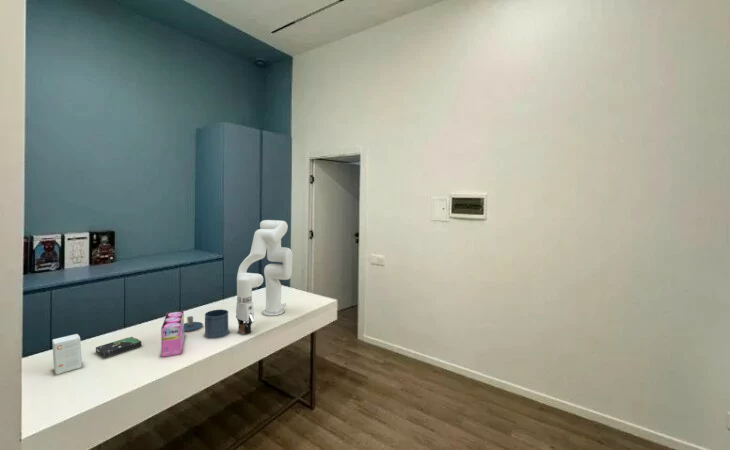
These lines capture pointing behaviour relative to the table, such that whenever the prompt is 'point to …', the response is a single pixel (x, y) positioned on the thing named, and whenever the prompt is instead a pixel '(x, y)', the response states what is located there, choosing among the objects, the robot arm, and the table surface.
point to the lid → (192, 324)
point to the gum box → (172, 333)
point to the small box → (67, 353)
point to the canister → (216, 323)
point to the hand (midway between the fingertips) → (244, 331)
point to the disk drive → (118, 347)
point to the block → (242, 328)
